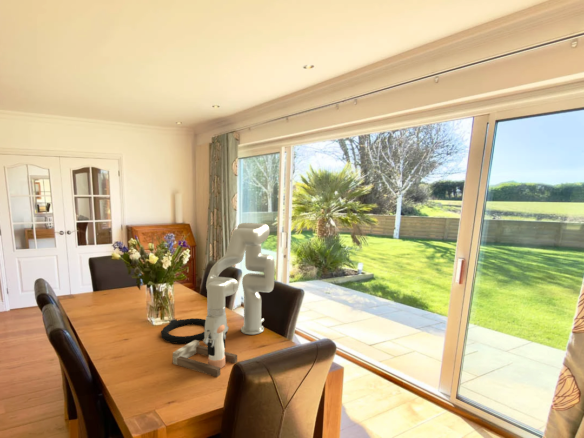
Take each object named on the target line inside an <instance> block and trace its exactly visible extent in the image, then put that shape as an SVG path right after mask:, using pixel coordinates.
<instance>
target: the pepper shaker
mask: <svg viewBox="0 0 584 438" xmlns="http://www.w3.org/2000/svg"><path fill="white" fill-rule="evenodd" d="M224 329H225V326H224V325H221V326H220V327H219V328H218V329H217V333H219V335H218V338H217V339H215V342H214V347H215V355H214V356H211V355H209V356H207V364H209V365H213V366H216V367H220V369H222V368H224V367H225V366H226V361H225V355H224V352H225V348H224V342H223V331H224ZM210 343H212V340H210Z"/></svg>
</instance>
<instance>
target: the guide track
mask: <svg viewBox="0 0 584 438" xmlns="http://www.w3.org/2000/svg"><path fill="white" fill-rule="evenodd" d="M196 354H197V355H198V354H199V355H202V356H206V357H209V355H208V346H205V345H200V341H198V340H194V341H192V342H190V343H186V344H185V345H184V346H181V347H180V348H177V349H176V350H175V351H173V352H172V364H173V365H177V366H179V367H182V368H186V369H189V370H192V371H195V372H199V373H201V374H202V373H203V374H206V375H209V376H213V377H216V378H218V377H219V376H220V375H221V368H220V367H216V366H213V365H209V364H208V363H206V362H201V361H199V360H196V359H195V360H194V359H191V358H190V357H192V356H194V355H196ZM224 355H225V362H228V363H231V364H236V363H238V355H237V354H235V353H231V352H227V351H224Z"/></svg>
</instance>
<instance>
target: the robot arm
mask: <svg viewBox="0 0 584 438" xmlns="http://www.w3.org/2000/svg"><path fill="white" fill-rule="evenodd" d="M269 237H270V227H269V225H268V224H267V223H261V222H259V223H257V222H242V223H239V224H237V228H236V229H234V230H233V231H232V232H231V237H230V239H229V242H228V246H227V248H226V251H225V254H224V255H223V256H222V257H221V258H219V259H217V260H216V262H215V263H214V264H213V265H212V267H211V268H210V270H209V272H208V276H207V278H206V282H205V283H206V284H205V287H206V288H205V289H206V292H207V293H206V296H207V300H206V302H207V303H206V304H207V305H206V306H207V309H206V310H207V311H206V312H207V313H206V314H207V315H206V316H205V317H206V318H205V320H206V321H205V326H204V332H205V334H204V335H205V338H204V340H202V343H204V344H205V345H206V347H208V355H211V356H214V355H215V347H214V342H215V339H217V338H218V335H219V333H217V329H218V328H219V327H220V326H221V325H224V326H225V329H224V331H223V342H224V349H226V339H227V334H228V330H229V326H228V323H227V322H228V321H227V320H228V319H227V313H226V297H229V296H232V295H234V294H235V293H236V292H237V291H238V289H239V281H238V280H236V279H235V278H233V277H227V276H226V277H225V276H220V274H221V273H222V272H223V271H224V270H226V269H227V268H230V267H232V266H235V265H237V264H239V263H241V262H242V261H243V259H244V260H245V261H244V263H245V264H244V265H245V268H246V270H247V271H249V273H246V274H245V275H244V276H243V277H242V280H241V281H242V283H241V285H242V289H243V290H242V292H243V326H241V328H240V331H241V333H243V334H244V335H250V336H252V335H254V336H255V335H259V334H261V333H263V332H264V331H265V327H264V325H262V323H263V322H264V321H265V318H264V317H263V318H262V296H261V294H260V293H271V292H273V290H274V288H275V259H274V256H272V255H271V254H265V253H262V243H263V242H265V241H266V240H267V239H268V238H269ZM244 256H245V258H244ZM251 272H252V273H251ZM253 272H255V273H253ZM258 272H259V273H258ZM210 340H212V343H210Z"/></svg>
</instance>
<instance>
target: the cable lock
mask: <svg viewBox="0 0 584 438" xmlns="http://www.w3.org/2000/svg"><path fill="white" fill-rule="evenodd" d="M205 321H206V318H204V319H203V318H184V319H182V318H181V319H177V318H176V319H174V318H173V319H171V320H170V321H169V323H168V324H167V325H165V326H164V327H163V329H162V330H161V333H160V336H161V338H162V339H163V340H164V341H165V342H168V343H172V344H178V345H179V344H183V345H184V344H189V343H190V342H192V341H194V340H198V341H199V342H201V341H203V340H204V338H205V335H204V334H205V331H203V332H200V333H196V334H193V335H185V336H181V335H180V336H179V335H174V334H171V333H170V332H171V331H172V330H174V329H177V328H180V327H184V326H192V325H193V326H194V325H195V326H196V325H197V326H203V327H205Z"/></svg>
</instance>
